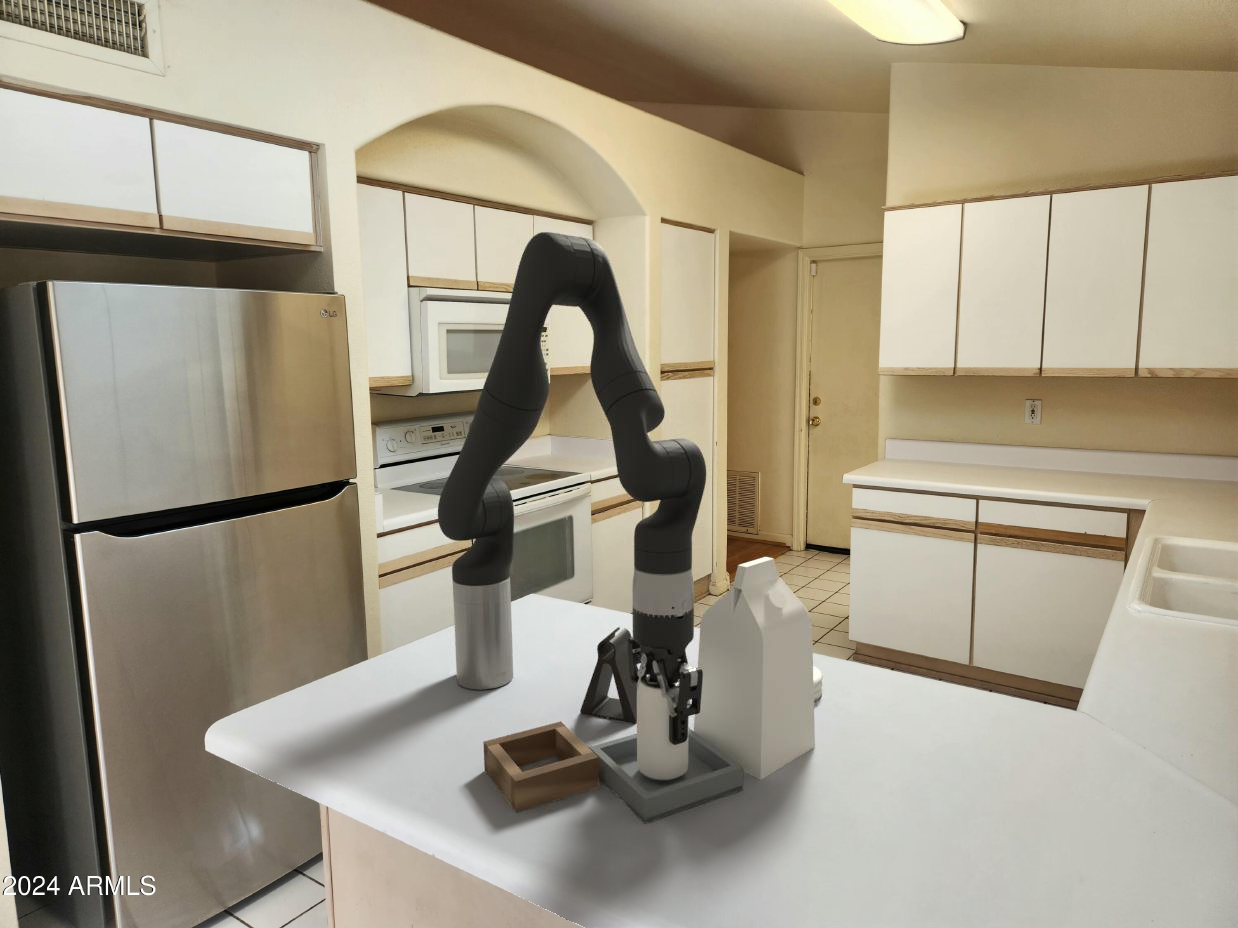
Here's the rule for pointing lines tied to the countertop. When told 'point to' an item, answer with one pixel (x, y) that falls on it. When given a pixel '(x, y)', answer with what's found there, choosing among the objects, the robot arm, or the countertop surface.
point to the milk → (757, 672)
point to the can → (657, 735)
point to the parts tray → (658, 799)
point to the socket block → (543, 782)
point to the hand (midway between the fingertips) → (663, 730)
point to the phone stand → (609, 664)
